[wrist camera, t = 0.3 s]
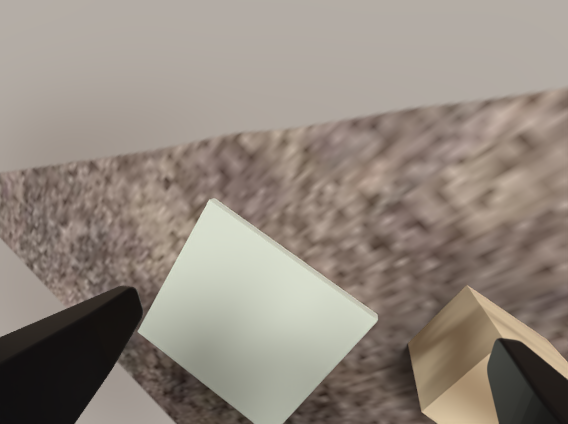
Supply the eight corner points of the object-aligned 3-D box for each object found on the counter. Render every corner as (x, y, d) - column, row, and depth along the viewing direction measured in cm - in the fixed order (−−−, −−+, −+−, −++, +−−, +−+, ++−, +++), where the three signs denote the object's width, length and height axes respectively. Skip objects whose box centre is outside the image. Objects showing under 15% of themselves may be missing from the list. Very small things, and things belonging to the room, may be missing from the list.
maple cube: (479, 393, 22) (518, 483, 16) (407, 342, 22) (421, 411, 17) (546, 339, 20) (618, 419, 14) (466, 284, 20) (504, 340, 15)
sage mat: (273, 428, 27) (271, 436, 26) (143, 326, 28) (137, 331, 28) (377, 314, 22) (377, 320, 21) (214, 197, 24) (209, 199, 23)
